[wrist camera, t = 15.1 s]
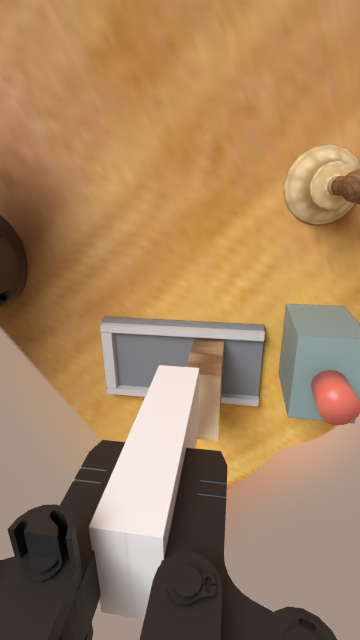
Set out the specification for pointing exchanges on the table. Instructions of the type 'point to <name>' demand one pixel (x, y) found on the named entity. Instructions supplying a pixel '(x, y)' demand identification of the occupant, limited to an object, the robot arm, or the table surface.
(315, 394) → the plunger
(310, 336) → the cabinet
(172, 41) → the table surface
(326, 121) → the table surface
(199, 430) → the tan rectangular block
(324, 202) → the hand bell
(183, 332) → the track
